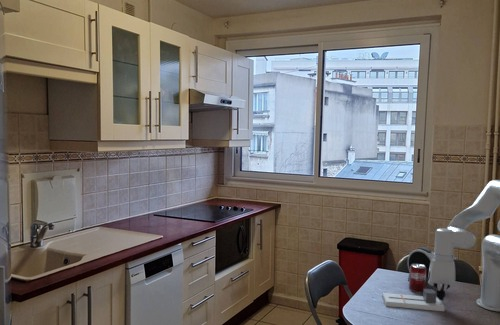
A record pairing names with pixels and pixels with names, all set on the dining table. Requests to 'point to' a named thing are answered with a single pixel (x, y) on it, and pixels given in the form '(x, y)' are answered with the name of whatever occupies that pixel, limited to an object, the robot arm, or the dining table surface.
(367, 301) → the dining table surface
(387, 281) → the dining table surface
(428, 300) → the fader knob
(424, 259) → the alarm clock
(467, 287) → the dining table surface
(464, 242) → the robot arm
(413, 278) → the soda can
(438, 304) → the console
